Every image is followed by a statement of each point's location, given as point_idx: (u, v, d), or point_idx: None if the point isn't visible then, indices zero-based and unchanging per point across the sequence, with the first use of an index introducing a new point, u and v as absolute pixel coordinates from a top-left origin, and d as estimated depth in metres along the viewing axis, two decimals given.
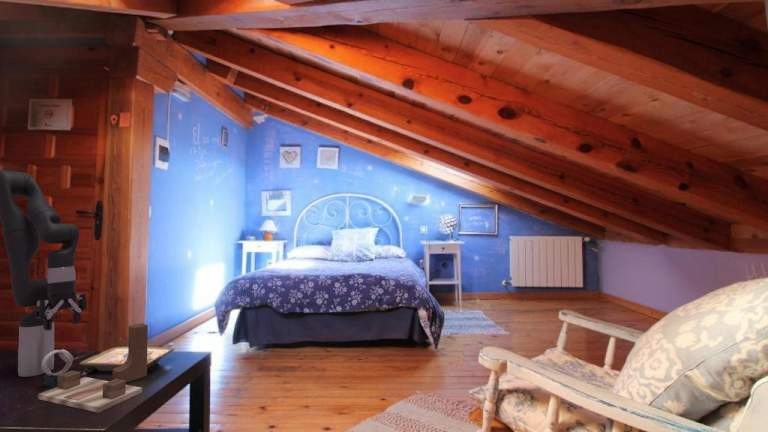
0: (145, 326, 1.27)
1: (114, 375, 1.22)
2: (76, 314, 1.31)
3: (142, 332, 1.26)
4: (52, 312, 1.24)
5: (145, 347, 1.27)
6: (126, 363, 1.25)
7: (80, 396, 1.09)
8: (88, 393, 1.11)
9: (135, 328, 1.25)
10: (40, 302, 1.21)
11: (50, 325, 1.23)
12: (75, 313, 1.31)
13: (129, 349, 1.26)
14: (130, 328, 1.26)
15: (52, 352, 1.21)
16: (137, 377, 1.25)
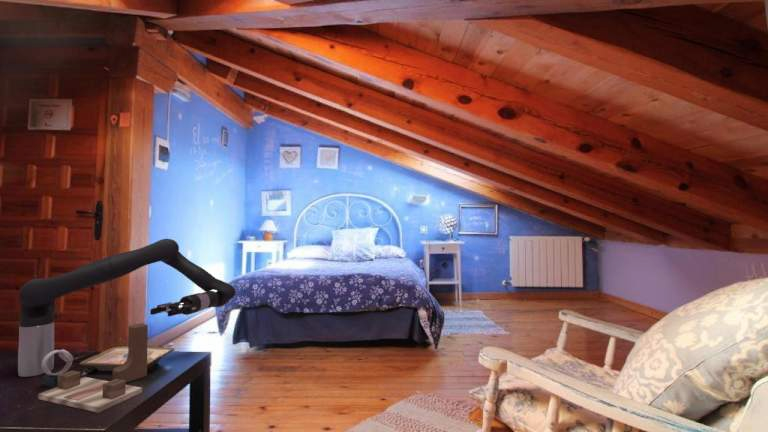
0: (145, 326, 1.27)
1: (114, 375, 1.22)
2: (159, 311, 1.40)
3: (142, 332, 1.26)
4: None
5: (145, 347, 1.27)
6: (126, 363, 1.25)
7: (80, 396, 1.09)
8: (88, 393, 1.11)
9: (135, 328, 1.25)
10: (195, 310, 1.43)
11: (172, 315, 1.36)
12: (160, 310, 1.41)
13: (129, 349, 1.26)
14: (130, 328, 1.26)
15: (52, 352, 1.21)
16: (137, 377, 1.25)
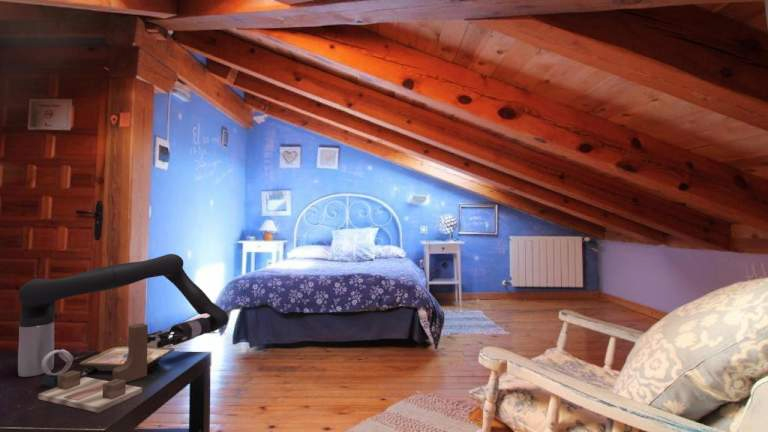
0: (145, 326, 1.27)
1: (114, 375, 1.22)
2: (149, 341, 1.36)
3: (142, 332, 1.26)
4: None
5: (145, 347, 1.27)
6: (126, 363, 1.25)
7: (80, 396, 1.09)
8: (88, 393, 1.11)
9: (135, 328, 1.25)
10: (185, 339, 1.39)
11: None
12: (149, 340, 1.37)
13: (129, 349, 1.26)
14: (130, 328, 1.26)
15: (52, 352, 1.21)
16: (137, 377, 1.25)
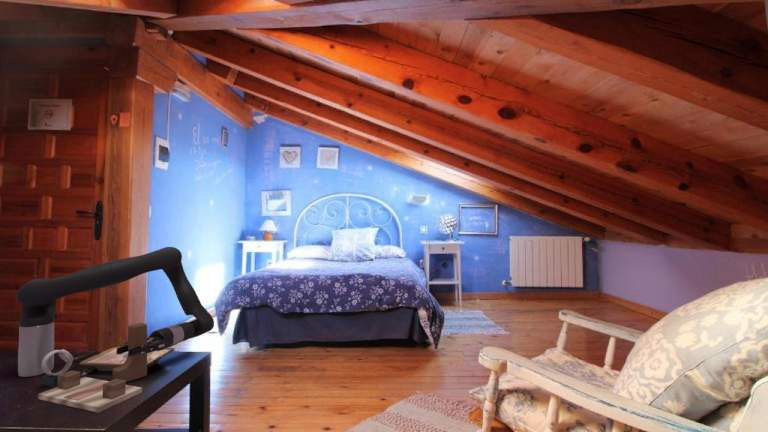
0: (144, 325, 1.28)
1: (114, 374, 1.22)
2: (127, 350, 1.27)
3: (141, 332, 1.27)
4: None
5: None
6: (126, 363, 1.25)
7: (80, 396, 1.09)
8: (88, 393, 1.11)
9: (134, 327, 1.25)
10: (163, 347, 1.30)
11: None
12: None
13: None
14: (129, 328, 1.26)
15: (52, 352, 1.21)
16: (137, 377, 1.25)
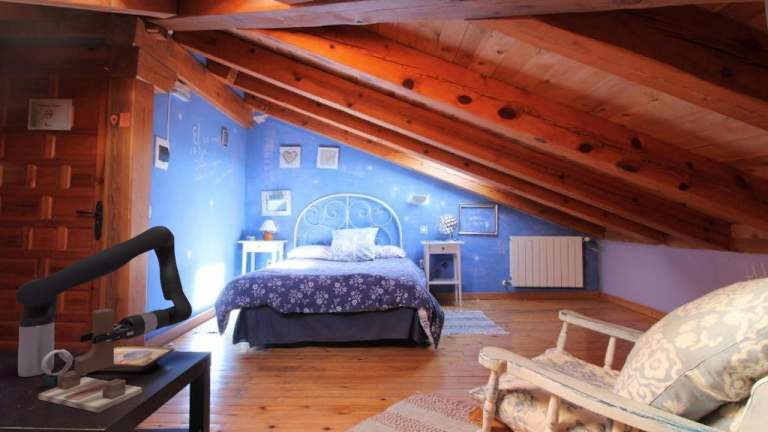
0: (111, 311, 1.17)
1: (76, 364, 1.11)
2: (91, 338, 1.16)
3: (107, 318, 1.16)
4: None
5: None
6: (90, 351, 1.14)
7: (80, 396, 1.09)
8: (88, 393, 1.11)
9: (99, 313, 1.14)
10: (131, 335, 1.19)
11: None
12: None
13: (93, 336, 1.15)
14: (94, 313, 1.15)
15: (52, 352, 1.21)
16: (102, 367, 1.14)
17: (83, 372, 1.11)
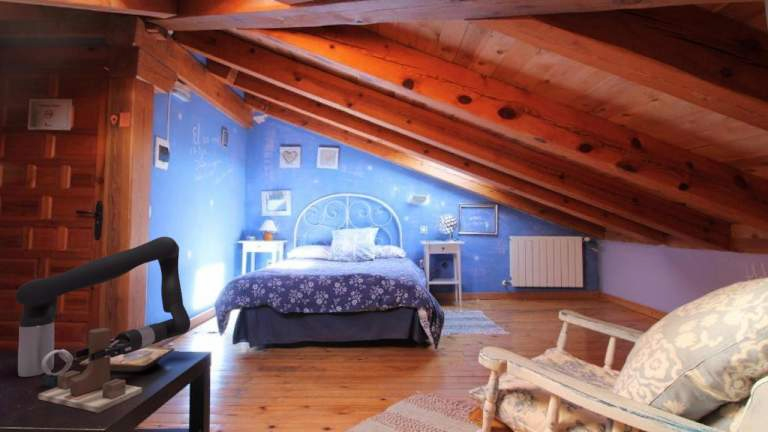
0: (107, 330, 1.16)
1: (71, 385, 1.10)
2: (87, 353, 1.15)
3: (104, 337, 1.15)
4: None
5: None
6: (86, 372, 1.13)
7: (80, 396, 1.09)
8: (88, 393, 1.11)
9: (96, 333, 1.13)
10: (129, 350, 1.18)
11: None
12: (88, 351, 1.16)
13: (89, 356, 1.14)
14: (90, 333, 1.14)
15: (52, 352, 1.21)
16: (98, 387, 1.14)
17: (79, 393, 1.10)
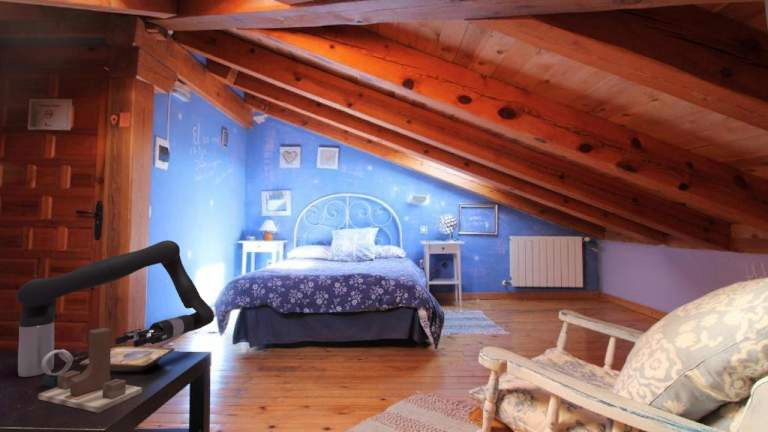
0: (108, 331, 1.16)
1: (71, 385, 1.10)
2: (126, 340, 1.28)
3: (104, 338, 1.15)
4: None
5: (108, 354, 1.16)
6: (86, 372, 1.13)
7: (80, 396, 1.09)
8: (88, 393, 1.11)
9: (96, 333, 1.13)
10: (165, 338, 1.31)
11: None
12: (127, 338, 1.28)
13: (89, 356, 1.14)
14: (91, 333, 1.14)
15: (52, 352, 1.21)
16: (98, 387, 1.14)
17: (79, 393, 1.10)
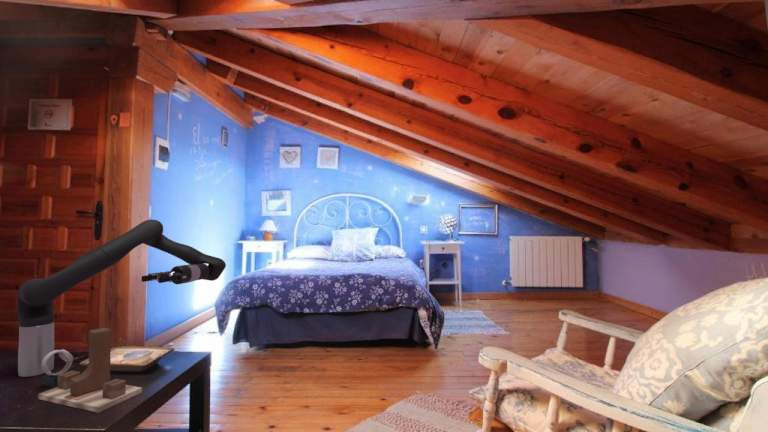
0: (108, 331, 1.16)
1: (71, 385, 1.10)
2: (150, 279, 1.44)
3: (104, 338, 1.15)
4: None
5: (108, 354, 1.16)
6: (86, 372, 1.13)
7: (80, 396, 1.09)
8: (88, 393, 1.11)
9: (96, 333, 1.13)
10: (185, 278, 1.46)
11: (162, 282, 1.39)
12: (151, 278, 1.44)
13: (89, 356, 1.14)
14: (91, 333, 1.14)
15: (52, 352, 1.21)
16: (98, 387, 1.14)
17: (79, 393, 1.10)
